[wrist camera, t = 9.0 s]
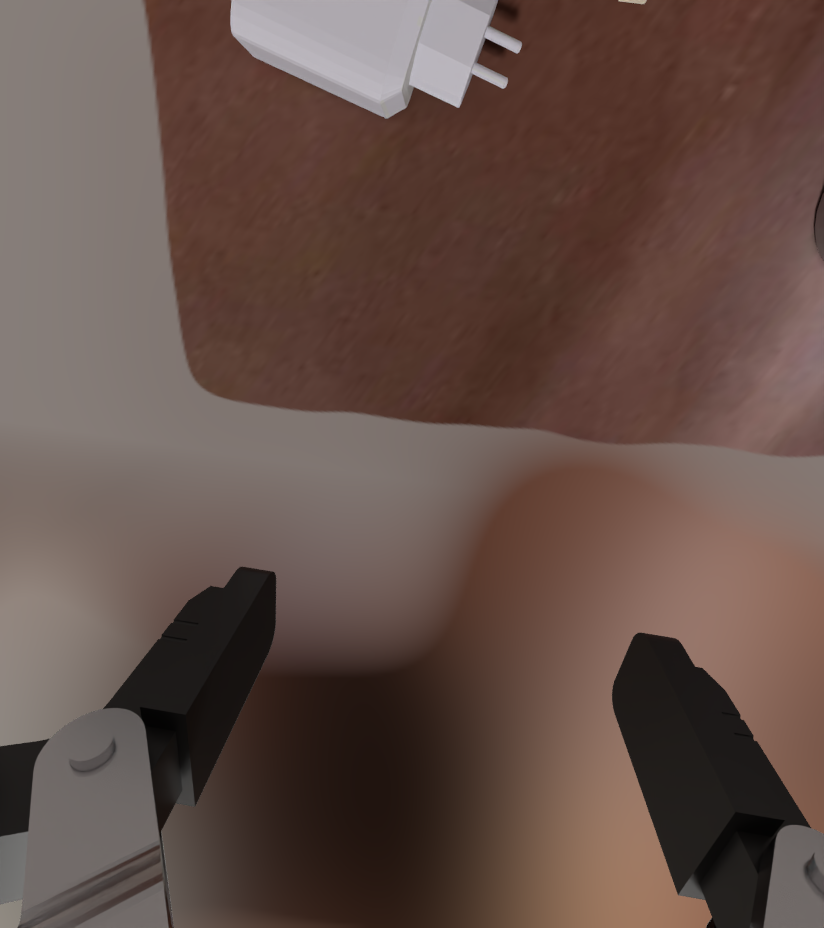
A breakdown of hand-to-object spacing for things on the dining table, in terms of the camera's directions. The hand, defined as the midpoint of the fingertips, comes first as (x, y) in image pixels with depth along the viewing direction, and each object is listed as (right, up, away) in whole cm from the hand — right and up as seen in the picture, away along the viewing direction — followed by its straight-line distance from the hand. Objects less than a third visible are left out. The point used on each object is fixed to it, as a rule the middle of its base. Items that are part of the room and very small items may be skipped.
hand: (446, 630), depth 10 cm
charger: (-2, +30, +18) cm, 35 cm away
